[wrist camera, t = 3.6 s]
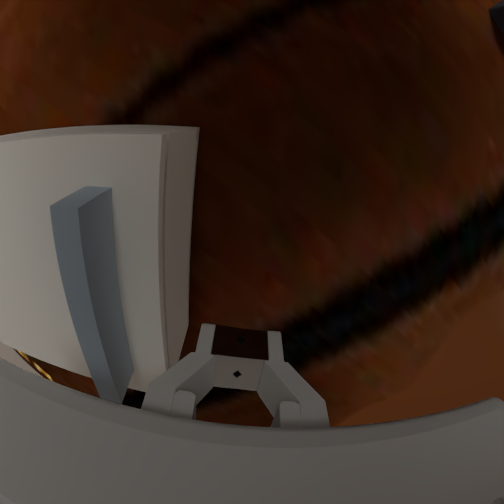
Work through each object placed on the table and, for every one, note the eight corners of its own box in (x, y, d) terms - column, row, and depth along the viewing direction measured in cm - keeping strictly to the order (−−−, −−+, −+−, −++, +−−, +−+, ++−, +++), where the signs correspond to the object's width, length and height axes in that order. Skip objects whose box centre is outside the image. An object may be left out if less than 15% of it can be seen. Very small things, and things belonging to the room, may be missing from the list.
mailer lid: (-63, 154, 8) (-93, 168, 6) (167, 133, 9) (134, 141, 7) (-22, 324, 15) (-40, 346, 12) (171, 389, 15) (161, 429, 13)
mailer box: (-7, 137, 14) (-60, 153, 9) (199, 127, 15) (169, 133, 10) (15, 285, 20) (-20, 322, 15) (188, 324, 21) (171, 385, 16)
